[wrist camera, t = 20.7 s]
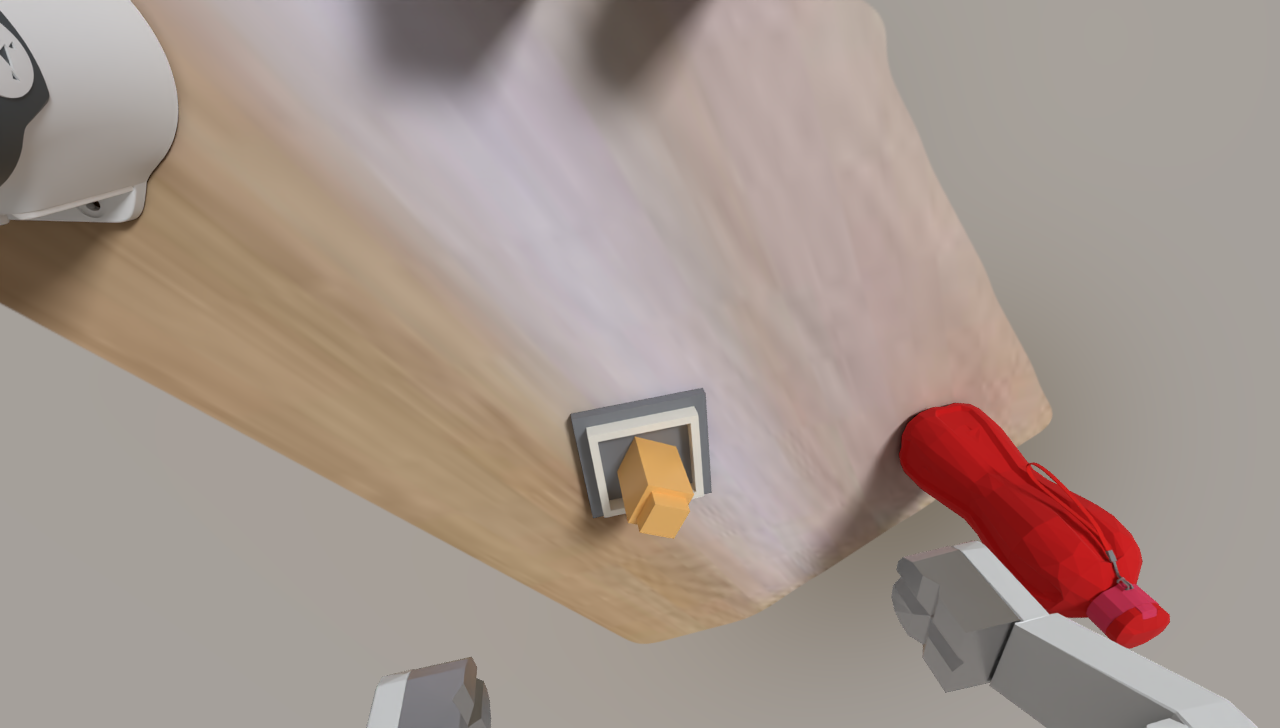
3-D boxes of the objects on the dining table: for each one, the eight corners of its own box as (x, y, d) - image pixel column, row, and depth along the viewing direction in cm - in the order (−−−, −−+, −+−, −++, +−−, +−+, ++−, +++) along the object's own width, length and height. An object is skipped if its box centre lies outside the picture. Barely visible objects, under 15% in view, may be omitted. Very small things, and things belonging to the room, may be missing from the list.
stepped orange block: (617, 471, 55) (630, 536, 48) (634, 436, 53) (651, 497, 46) (657, 480, 57) (676, 544, 49) (676, 446, 55) (699, 507, 48)
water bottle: (982, 379, 59) (1239, 564, 38) (963, 456, 65) (1177, 655, 43) (902, 395, 58) (1120, 594, 37) (890, 472, 64) (1072, 683, 43)
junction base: (592, 511, 59) (594, 528, 56) (570, 413, 52) (572, 429, 50) (709, 486, 60) (715, 502, 58) (702, 388, 53) (710, 402, 51)
